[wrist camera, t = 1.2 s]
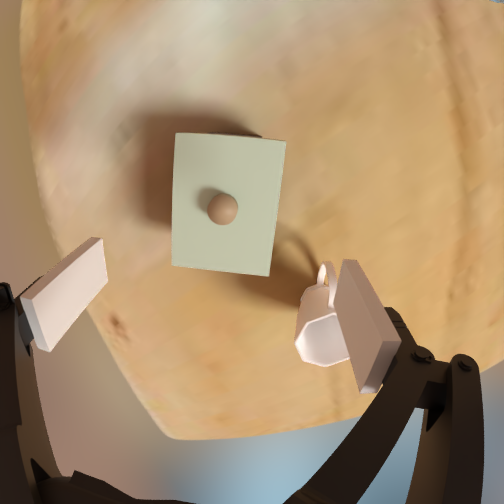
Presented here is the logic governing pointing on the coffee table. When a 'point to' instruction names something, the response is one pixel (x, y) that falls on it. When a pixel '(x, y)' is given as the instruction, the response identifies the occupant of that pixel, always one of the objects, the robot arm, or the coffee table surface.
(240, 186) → the lid
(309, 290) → the cup
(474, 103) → the coffee table surface
